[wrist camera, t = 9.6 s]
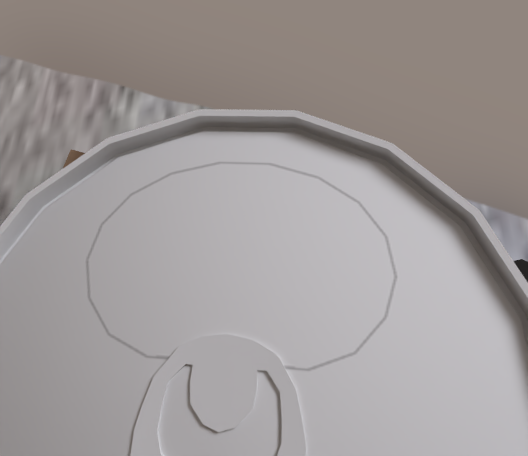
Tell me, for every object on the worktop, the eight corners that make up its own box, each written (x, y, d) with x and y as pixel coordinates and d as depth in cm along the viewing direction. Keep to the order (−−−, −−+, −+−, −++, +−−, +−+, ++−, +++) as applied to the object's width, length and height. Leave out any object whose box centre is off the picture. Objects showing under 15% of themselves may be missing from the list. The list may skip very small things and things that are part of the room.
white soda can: (207, 269, 21) (-44, 66, 7) (400, 280, 20) (604, 64, 5) (185, 472, 19) (-258, 826, 4) (400, 497, 18) (735, 1076, 3)
